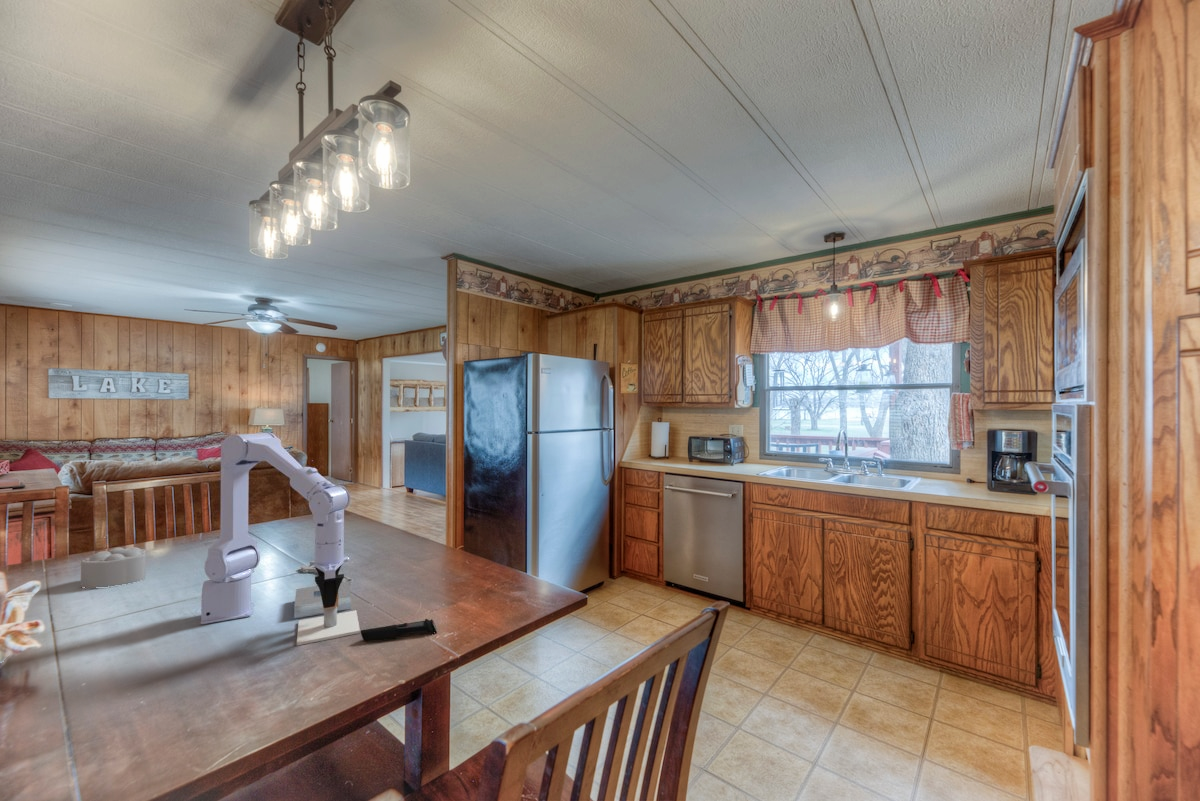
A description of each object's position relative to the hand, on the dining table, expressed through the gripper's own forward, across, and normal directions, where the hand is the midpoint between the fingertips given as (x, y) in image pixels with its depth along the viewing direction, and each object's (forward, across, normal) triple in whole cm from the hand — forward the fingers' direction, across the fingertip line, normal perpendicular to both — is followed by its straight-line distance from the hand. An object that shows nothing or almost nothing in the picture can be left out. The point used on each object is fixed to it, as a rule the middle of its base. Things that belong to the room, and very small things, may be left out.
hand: (328, 600), depth 113 cm
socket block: (+6, +15, +1) cm, 16 cm away
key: (+6, 0, 0) cm, 6 cm away
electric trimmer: (+7, -12, -14) cm, 19 cm away
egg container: (+6, +60, +52) cm, 80 cm away
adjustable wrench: (+7, +38, 0) cm, 39 cm away
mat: (+6, 0, 0) cm, 6 cm away
